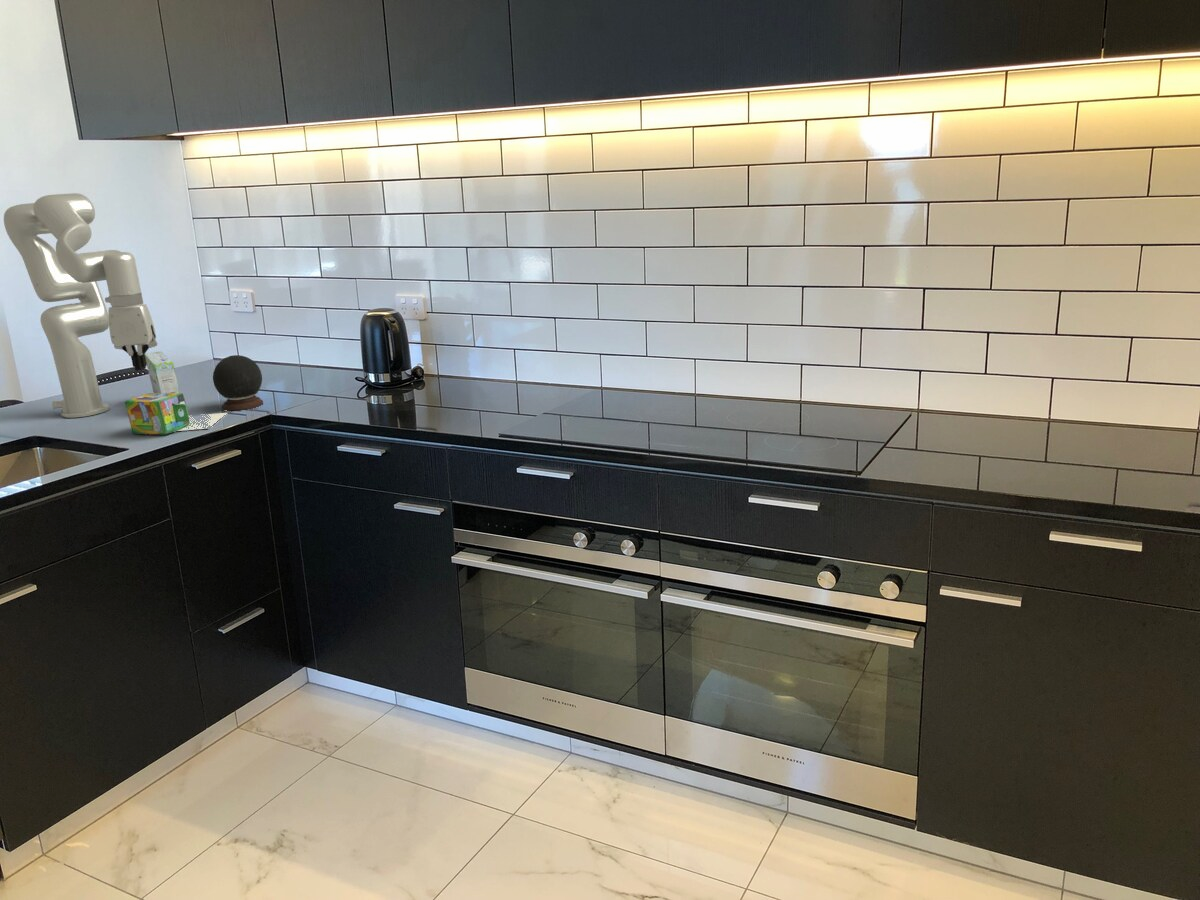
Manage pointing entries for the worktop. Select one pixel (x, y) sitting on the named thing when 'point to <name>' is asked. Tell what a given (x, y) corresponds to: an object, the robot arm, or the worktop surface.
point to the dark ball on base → (238, 382)
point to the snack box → (161, 373)
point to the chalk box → (157, 413)
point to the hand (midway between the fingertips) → (140, 369)
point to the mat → (213, 420)
